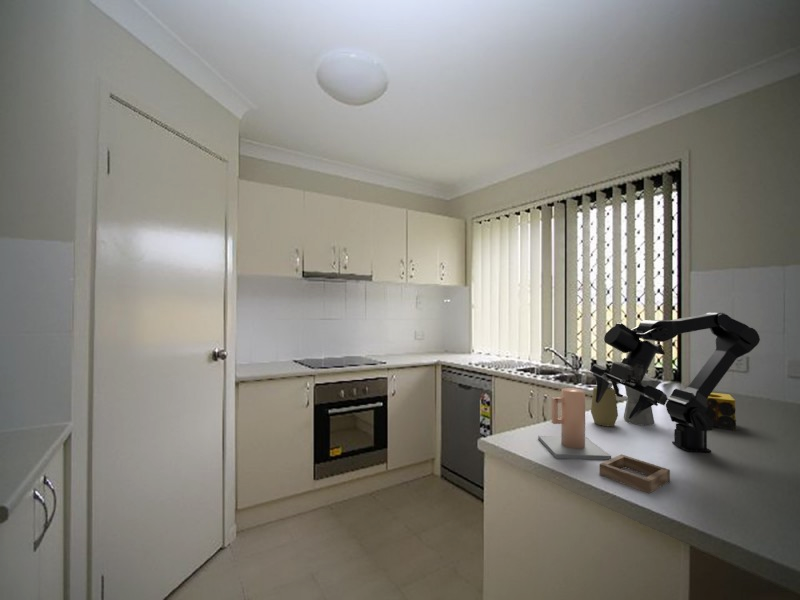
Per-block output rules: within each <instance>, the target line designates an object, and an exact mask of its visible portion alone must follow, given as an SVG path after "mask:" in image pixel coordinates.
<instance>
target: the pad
mask: <svg viewBox="0 0 800 600" xmlns="http://www.w3.org/2000/svg"><path fill="white" fill-rule="evenodd" d="M537 438H538V441H539V442H540V443H541V444H543V446H544V447H545V448H546V449H547V450H548V451H549V452H550V453H551V455H552V456H553V457H554V458H555V459H571V460H572V459H575V458H578V459H577V460H603V459H612V455H610V453H608V452H607V451H605V450H604V449H603V448H601V446H599V445H598V444H597V443H595V442H594V441H592V440H591V439H590V438H589V437H587V436H585V448H583V449H572V448H568V447H565V446H563V445H562V444H561V435H538V437H537ZM575 460H576V459H575Z"/></svg>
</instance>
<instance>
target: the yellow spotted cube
mask: <svg viewBox="0 0 800 600" xmlns="http://www.w3.org/2000/svg"><path fill="white" fill-rule="evenodd" d="M705 414H706V415H707V416H708V417H709V418H710V420H711V421H712V422H713V423H714V426H713V429H714V428H715V429H721V430H726V431H727V430H728V431H737V420H736V419H737V418H736V399H734V397H732V395H731V394H728V393H718V392H711V394H710V395H709V397H708V398H707V411H706V413H705Z"/></svg>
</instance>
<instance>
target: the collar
mask: <svg viewBox="0 0 800 600" xmlns="http://www.w3.org/2000/svg"><path fill="white" fill-rule="evenodd" d="M623 467H624V468H625V467H626V468H625V469H628V468H629V469H628V470H632V471H634V472H636V471H637V473H639V472H640V474H642V473H643V474H642V475H645V474H646V475H645V477H644V476H641V475H638V474H635V473H633V472H630V471H627V470H625V469H624V468H623ZM598 468H599V469H598V470H599V473H598V474H599V475H600V476H602V477H605V478H608V479H611V480H613V481H616V482H618V483H621V484H623V485H625V486H629V487H632V488H634V489H636V490H639V491H642V492H644V493H647V494H651V493H652V492H653V491H655V490H658V489H659V488H661V487H662V486H664V485H666V484H667V483H669V482H670V481H671V479H670V478H671V470H670V469H668V468H666V467H663V466H658V465H657V464H654V463H650V462H646V461H644V460H640V459H638V458H634V457H631V456H628V455H625V454H619V455H617V456H614V457H611V459H609V460H604V461H603V462H600V463H599V467H598ZM621 468H622V469H621ZM623 469H624V470H623ZM668 481H669V482H668ZM666 482H667V483H666ZM665 483H666V484H665ZM663 484H664V485H663ZM660 486H661V487H660ZM658 487H659V488H658Z"/></svg>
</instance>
